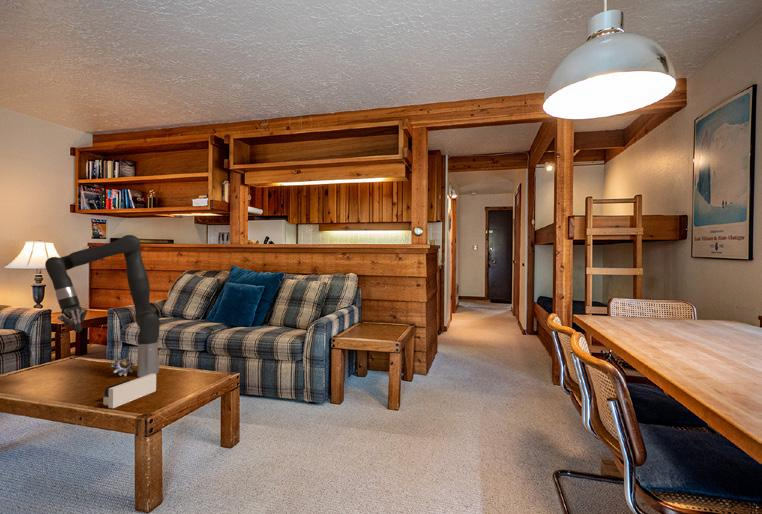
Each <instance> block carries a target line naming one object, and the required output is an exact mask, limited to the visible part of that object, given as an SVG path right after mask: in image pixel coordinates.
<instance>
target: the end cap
mask: <svg viewBox="0 0 762 514" xmlns="http://www.w3.org/2000/svg"><path fill="white" fill-rule="evenodd" d="M129 381H131V379H127V380H124V381H121V382H118V383H115V384H111V385H108V386H107V387H106V388H105V389H104V397H109V388H112V387H115V386H118V385H120V384H123V383H126V382H129Z"/></svg>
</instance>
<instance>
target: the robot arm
mask: <svg viewBox="0 0 762 514" xmlns="http://www.w3.org/2000/svg"><path fill="white" fill-rule="evenodd" d="M121 254H123V257H124V259H125V264H126V265H125V266H126V278H127V284H128V289H129V292H130V295H131V299H132V302H133V306H134V313H135V321H136V322H135V323H136V325H137V327H139V336H138V337H137V355H136V356H137V362H136V364H137V365H136V371H137V372H136V374H137V375H136V376H137V377H138V378H141V377H143V376H146V375H149V374H156V375H157V374H159V373H160V355H159V354H158V353H159V352H158V344H159V341H158V340H159V337H160V328H161V327H160V318H159V316H158V314H156V313H154V312H153V310H152V307H151V303H150V302H151V301H150V295H151V285H150V280H149V276H148V274H147V270H146V267H145V265H144V262H143V257H142V251H141V241H140V239H139V238H138V237H137V236H135V235H133V234H127V235H124V236H122V237H120V238H119V239H117V240H115V241H112V242H108V243H105V244H102V245H97V246H93V247H89V248H84V249H81V250H77V251H73V252H72V253H69V254H68V255H65V256H61V257H57V256H52V257H49V258H47V259H46V260H45V263H44V266H45V270H46V272H47V274H48V276H49V278H50V280H51V282H52V285H53V288H54V292H55V297H56V300H57V303H58V305H59V309H61V315H58V316H57V320H59V321H61V322H62V323H63V324H65V325H67V326H72V329H73V331H74V332H75V333H79V332H82V331H83V327H82V324H81V323H82V322H84V320H85V318H86V316H87V313H88V309H83V308H82V307H81V305H80V301H79V297H78V294H77V290H76V289H75V287H74V284H73V281H72V279H71V277H70V276H69V275H68V272H67V271H69V270H71V269H73V268H76V267H80V266H84V265H87V264H90V263H93V262H97V261H101V260H103V259H105V258H108V257H112V256H117V255H121Z"/></svg>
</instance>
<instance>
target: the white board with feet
mask: <svg viewBox="0 0 762 514" xmlns="http://www.w3.org/2000/svg"><path fill="white" fill-rule="evenodd" d="M156 391H157V374H149V375H146V376H143V377H138V378H135V379H132V380H130V381H129V382H126V383H123V384H120V385H118V386H115V387H112V388H109V397H105V396H103V403H102V404H103V406H107V407H108V409H114V408H117V407H119V406H122V405H125V404H128V403H130V402H132V401H134V400H137V399H140V398H141V397H146V396H147V395H150V394H152V393H155V392H156Z"/></svg>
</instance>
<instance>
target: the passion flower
mask: <svg viewBox="0 0 762 514" xmlns="http://www.w3.org/2000/svg"><path fill="white" fill-rule="evenodd" d="M133 362H134V360H130V359H129V357H128V356H127V357H125V358H123V357H121V356H118V357H117V359H116V360H115V361H111V362H110V363H109V366H110V368H112V369H113V371H112V374H116V375H117V374H118V376H119V377H122V376H123V377H127V375H128V373H133V372H134V367H135V366H136V364H134V363H133Z"/></svg>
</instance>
